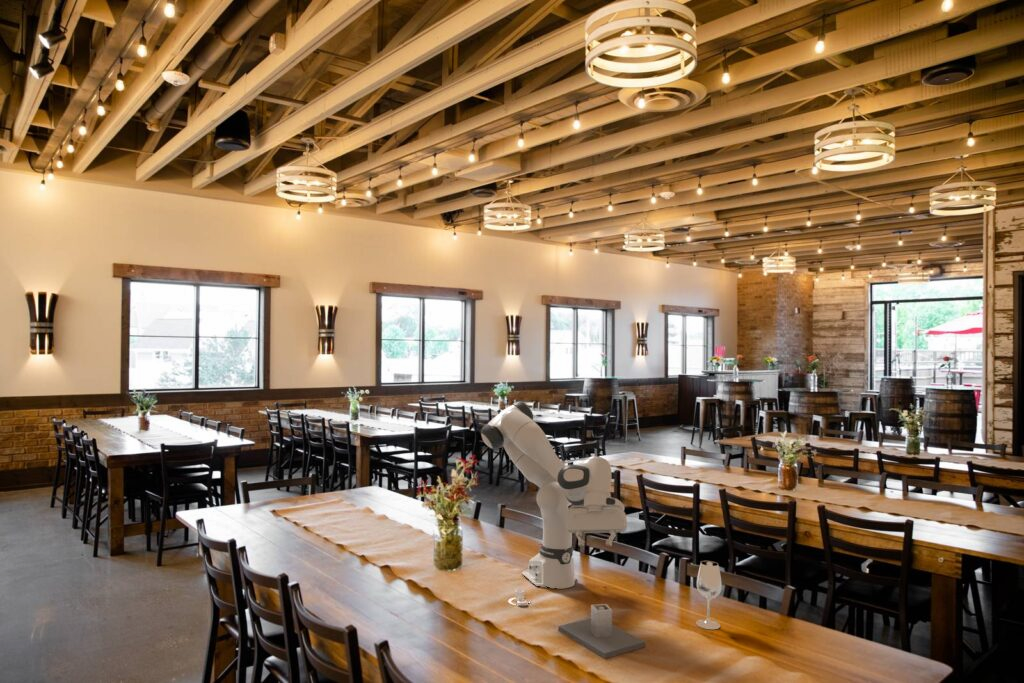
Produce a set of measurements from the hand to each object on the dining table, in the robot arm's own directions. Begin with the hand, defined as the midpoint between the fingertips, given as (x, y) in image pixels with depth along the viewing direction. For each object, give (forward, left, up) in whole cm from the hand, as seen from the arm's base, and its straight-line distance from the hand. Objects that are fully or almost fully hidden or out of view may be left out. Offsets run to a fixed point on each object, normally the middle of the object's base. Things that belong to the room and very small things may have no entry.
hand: (594, 545), depth 216 cm
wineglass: (+18, +33, -26) cm, 46 cm away
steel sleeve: (+9, -5, -24) cm, 26 cm away
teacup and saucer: (-28, -13, -26) cm, 40 cm away
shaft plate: (+9, -5, -25) cm, 27 cm away
